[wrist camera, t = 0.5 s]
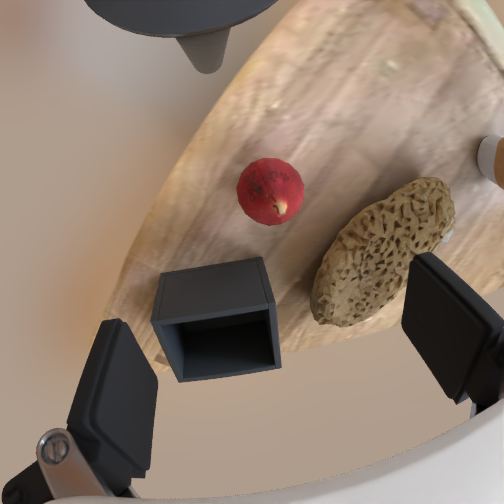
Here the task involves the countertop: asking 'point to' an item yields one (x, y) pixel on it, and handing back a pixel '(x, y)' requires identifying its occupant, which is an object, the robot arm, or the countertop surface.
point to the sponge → (380, 251)
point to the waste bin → (217, 320)
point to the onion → (270, 191)
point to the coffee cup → (492, 159)
